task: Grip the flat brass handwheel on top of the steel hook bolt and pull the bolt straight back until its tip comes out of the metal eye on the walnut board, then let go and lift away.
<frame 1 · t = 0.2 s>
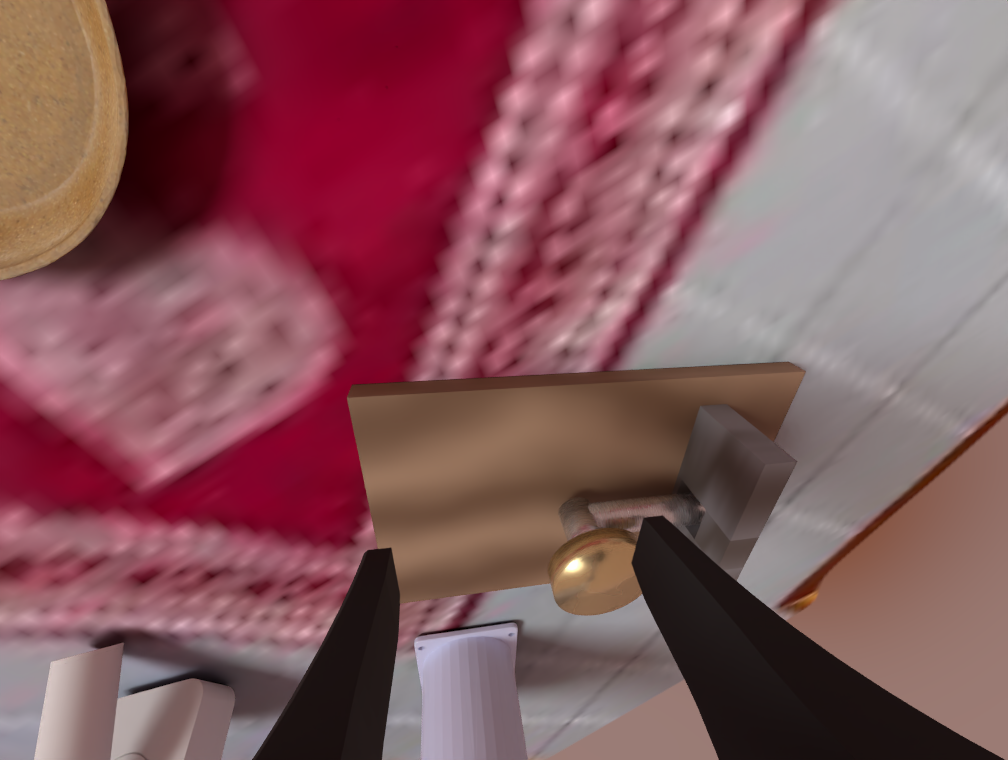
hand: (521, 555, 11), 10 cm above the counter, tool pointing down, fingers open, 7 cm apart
wooden board: (674, 474, 25), on the counter
wall hook: (153, 667, 27), on the counter
hook bolt: (657, 534, 21), point 4 cm above the counter, slide at 0.0 cm
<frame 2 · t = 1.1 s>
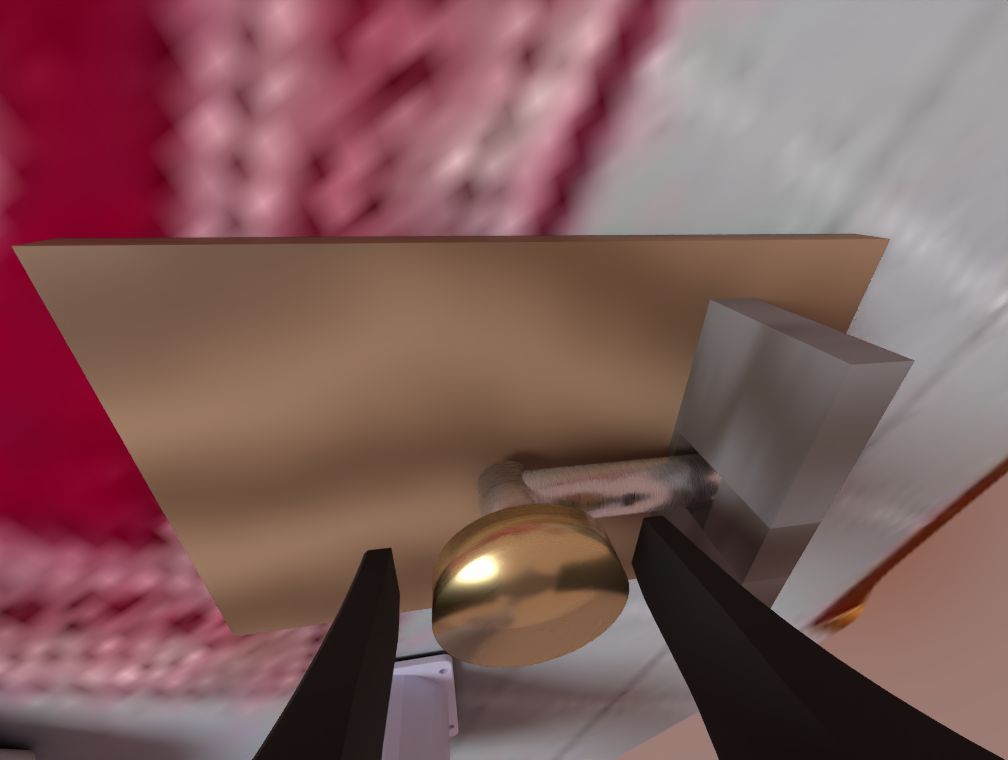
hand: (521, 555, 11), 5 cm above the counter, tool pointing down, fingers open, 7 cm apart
wooden board: (670, 432, 16), on the counter
hook bolt: (639, 520, 12), point 4 cm above the counter, slide at 0.0 cm
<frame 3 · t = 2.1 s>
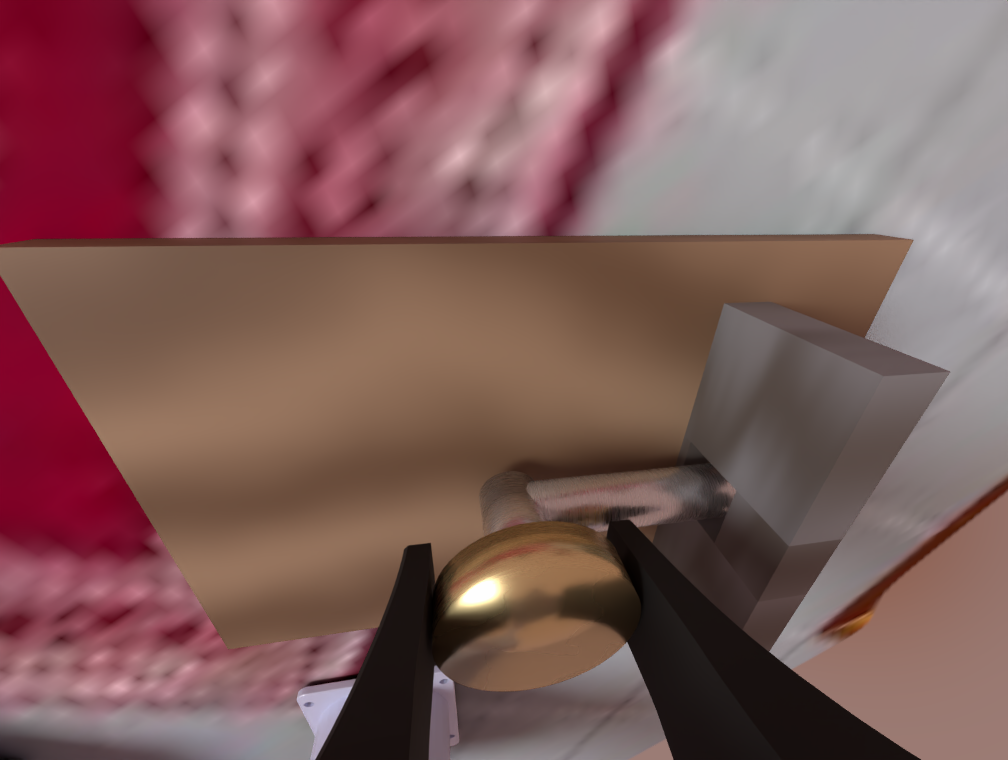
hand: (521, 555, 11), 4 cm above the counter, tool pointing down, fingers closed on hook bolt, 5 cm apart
wooden board: (678, 439, 16), on the counter
hook bolt: (649, 534, 12), point 4 cm above the counter, slide at 0.0 cm, touching gripper
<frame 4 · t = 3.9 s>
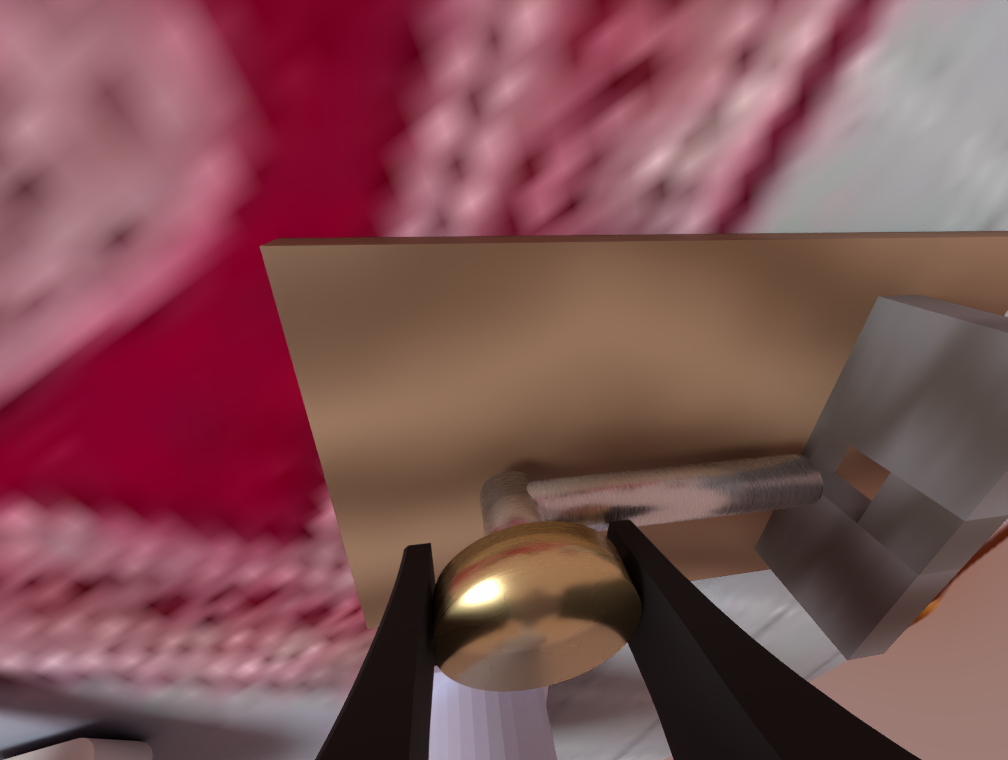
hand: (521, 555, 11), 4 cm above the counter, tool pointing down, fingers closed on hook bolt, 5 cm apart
wooden board: (797, 428, 17), on the counter
wall hook: (27, 721, 18), on the counter
hook bolt: (650, 534, 12), point 4 cm above the counter, slide at 5.5 cm, touching gripper
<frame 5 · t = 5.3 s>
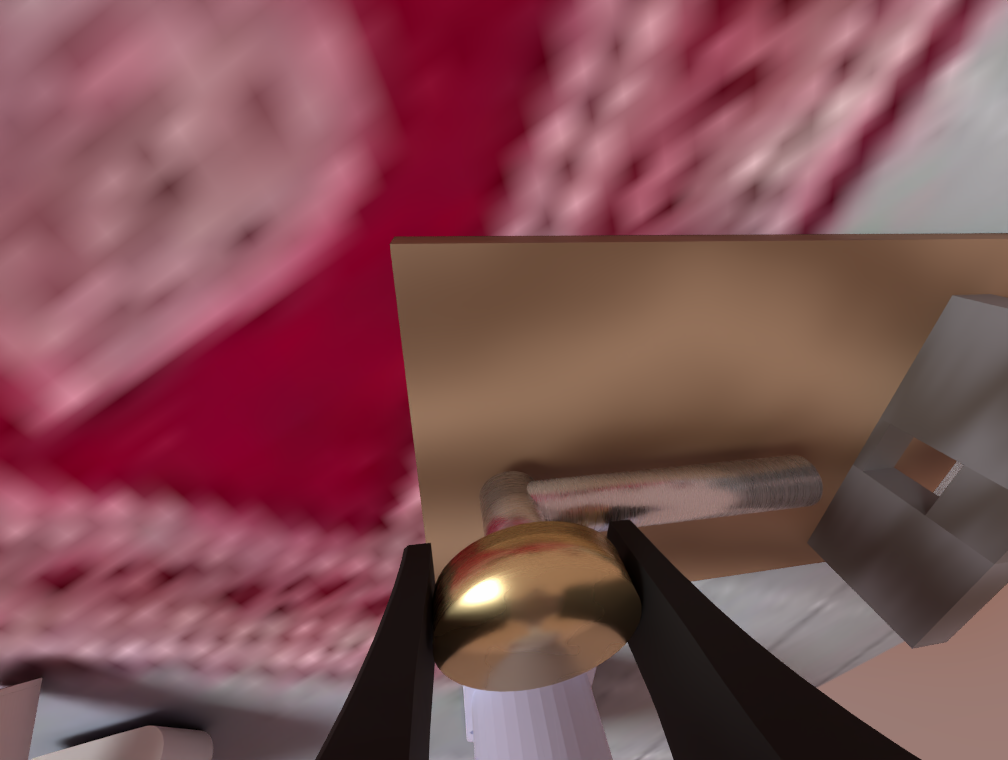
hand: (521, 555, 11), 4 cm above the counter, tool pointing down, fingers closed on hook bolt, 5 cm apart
wooden board: (854, 424, 17), on the counter
wall hook: (94, 709, 19), on the counter
hook bolt: (650, 534, 12), point 4 cm above the counter, slide at 8.5 cm, touching gripper
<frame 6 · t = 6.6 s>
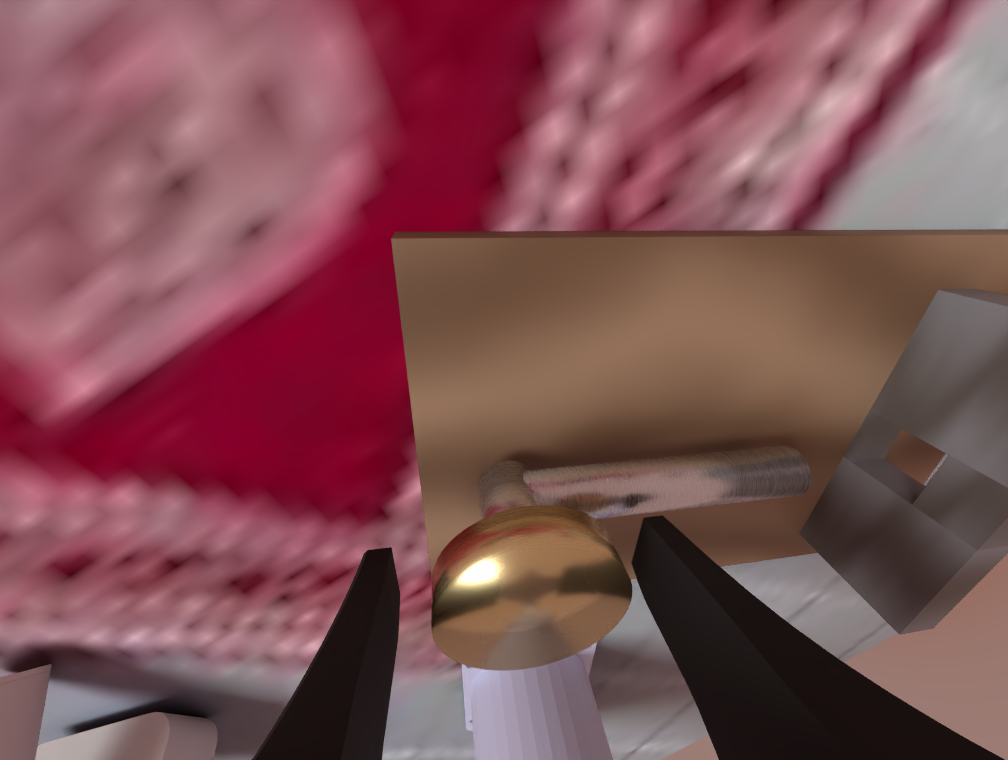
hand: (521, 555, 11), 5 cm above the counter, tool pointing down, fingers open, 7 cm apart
wooden board: (845, 417, 17), on the counter
wall hook: (101, 696, 19), on the counter
hook bolt: (642, 521, 12), point 4 cm above the counter, slide at 8.5 cm
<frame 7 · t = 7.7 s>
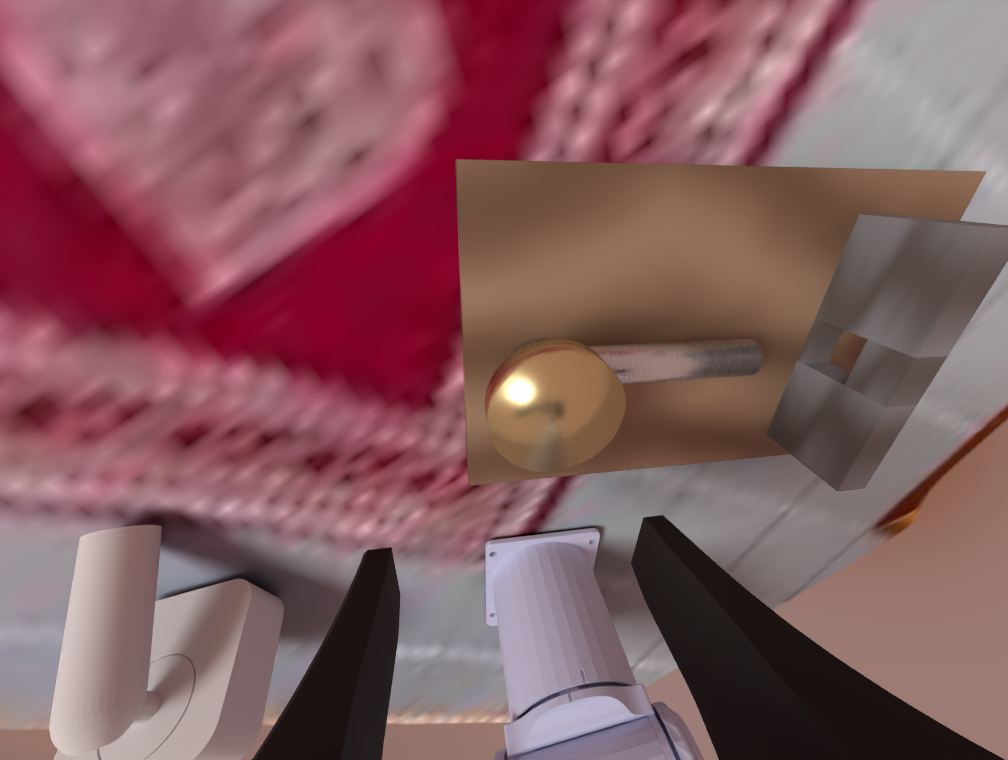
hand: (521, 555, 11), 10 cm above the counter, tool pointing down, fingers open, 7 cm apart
wooden board: (800, 331, 22), on the counter
wall hook: (192, 568, 23), on the counter
hook bolt: (634, 379, 16), point 4 cm above the counter, slide at 8.5 cm
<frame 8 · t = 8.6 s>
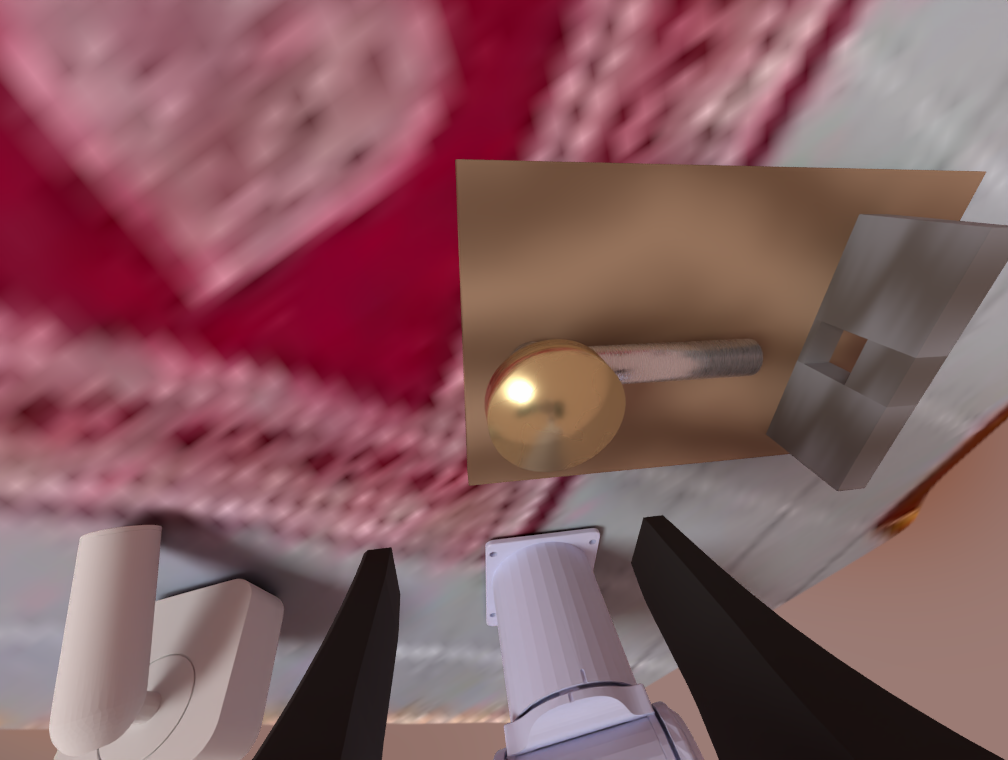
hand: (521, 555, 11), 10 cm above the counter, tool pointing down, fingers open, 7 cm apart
wooden board: (800, 331, 22), on the counter
wall hook: (192, 568, 23), on the counter
hook bolt: (634, 379, 16), point 4 cm above the counter, slide at 8.5 cm
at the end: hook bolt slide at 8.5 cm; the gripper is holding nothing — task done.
